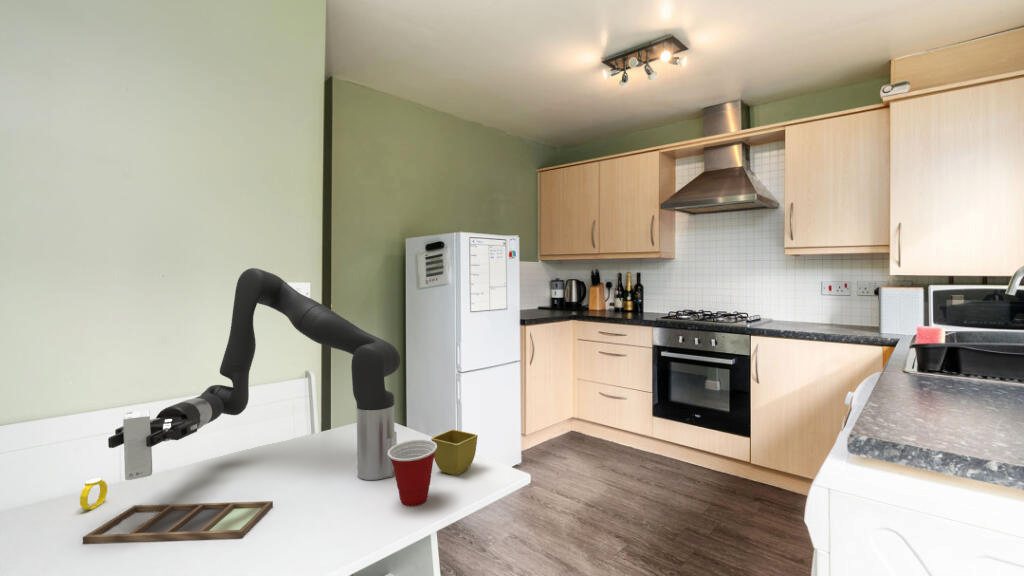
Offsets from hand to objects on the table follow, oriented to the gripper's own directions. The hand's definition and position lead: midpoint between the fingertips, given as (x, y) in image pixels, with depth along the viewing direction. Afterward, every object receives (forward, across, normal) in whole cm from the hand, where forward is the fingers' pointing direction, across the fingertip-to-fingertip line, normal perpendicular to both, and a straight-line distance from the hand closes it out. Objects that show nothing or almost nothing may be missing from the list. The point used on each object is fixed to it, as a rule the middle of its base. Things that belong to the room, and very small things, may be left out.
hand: (129, 442), depth 91 cm
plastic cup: (-9, +54, +18) cm, 57 cm away
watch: (-11, -16, +18) cm, 27 cm away
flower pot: (-25, +62, +18) cm, 69 cm away
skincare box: (-2, 0, +7) cm, 8 cm away
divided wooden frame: (-2, +9, +18) cm, 20 cm away
